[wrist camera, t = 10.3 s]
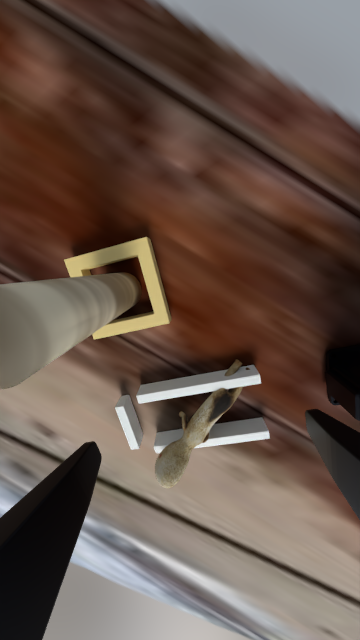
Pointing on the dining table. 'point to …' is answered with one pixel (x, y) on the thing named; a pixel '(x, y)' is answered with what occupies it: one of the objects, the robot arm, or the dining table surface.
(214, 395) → the figurine
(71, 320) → the post
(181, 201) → the dining table surface
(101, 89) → the dining table surface
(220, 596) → the dining table surface
